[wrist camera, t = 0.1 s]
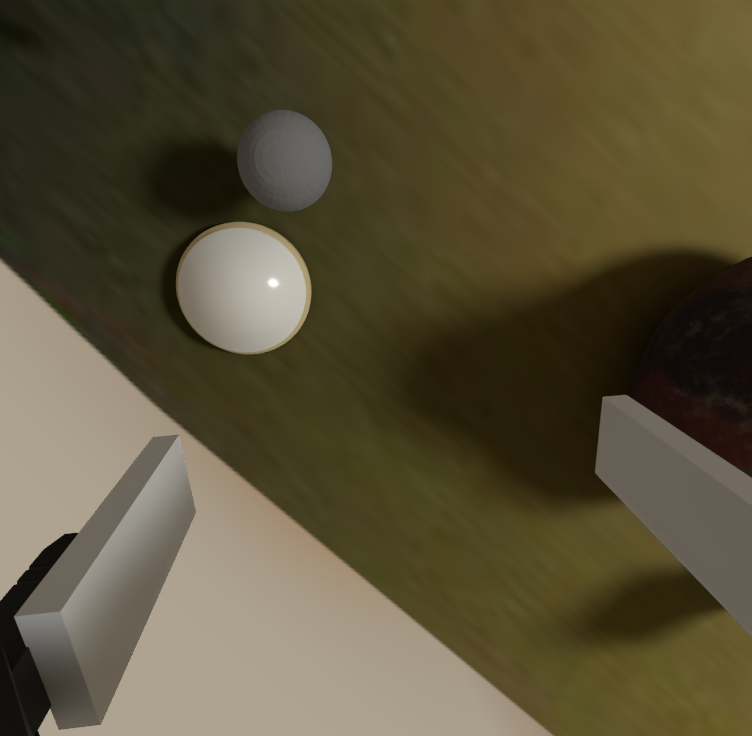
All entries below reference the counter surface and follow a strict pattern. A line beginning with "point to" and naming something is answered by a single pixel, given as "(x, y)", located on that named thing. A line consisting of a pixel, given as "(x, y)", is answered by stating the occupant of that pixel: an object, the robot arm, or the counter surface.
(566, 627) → the counter surface
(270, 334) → the white plate
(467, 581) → the counter surface
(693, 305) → the jug
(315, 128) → the light bulb
